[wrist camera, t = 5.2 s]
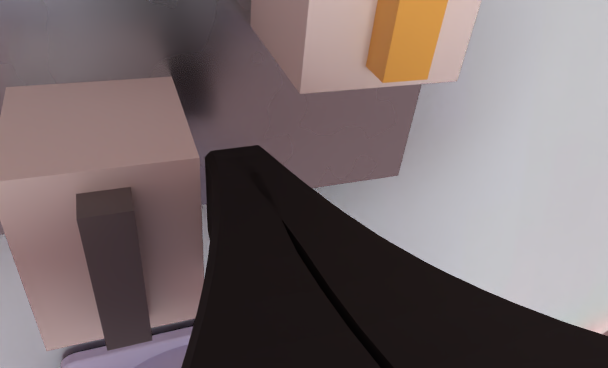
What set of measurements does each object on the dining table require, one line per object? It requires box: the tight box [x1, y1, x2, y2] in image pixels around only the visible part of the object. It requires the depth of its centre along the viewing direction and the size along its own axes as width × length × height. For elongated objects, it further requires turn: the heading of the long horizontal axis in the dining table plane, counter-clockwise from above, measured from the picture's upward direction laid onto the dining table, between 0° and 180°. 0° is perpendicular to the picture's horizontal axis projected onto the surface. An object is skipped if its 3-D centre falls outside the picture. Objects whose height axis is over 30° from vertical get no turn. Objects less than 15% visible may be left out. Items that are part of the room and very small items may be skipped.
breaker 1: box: [0, 77, 204, 351], centre depth 10 cm, size 4×3×4 cm
